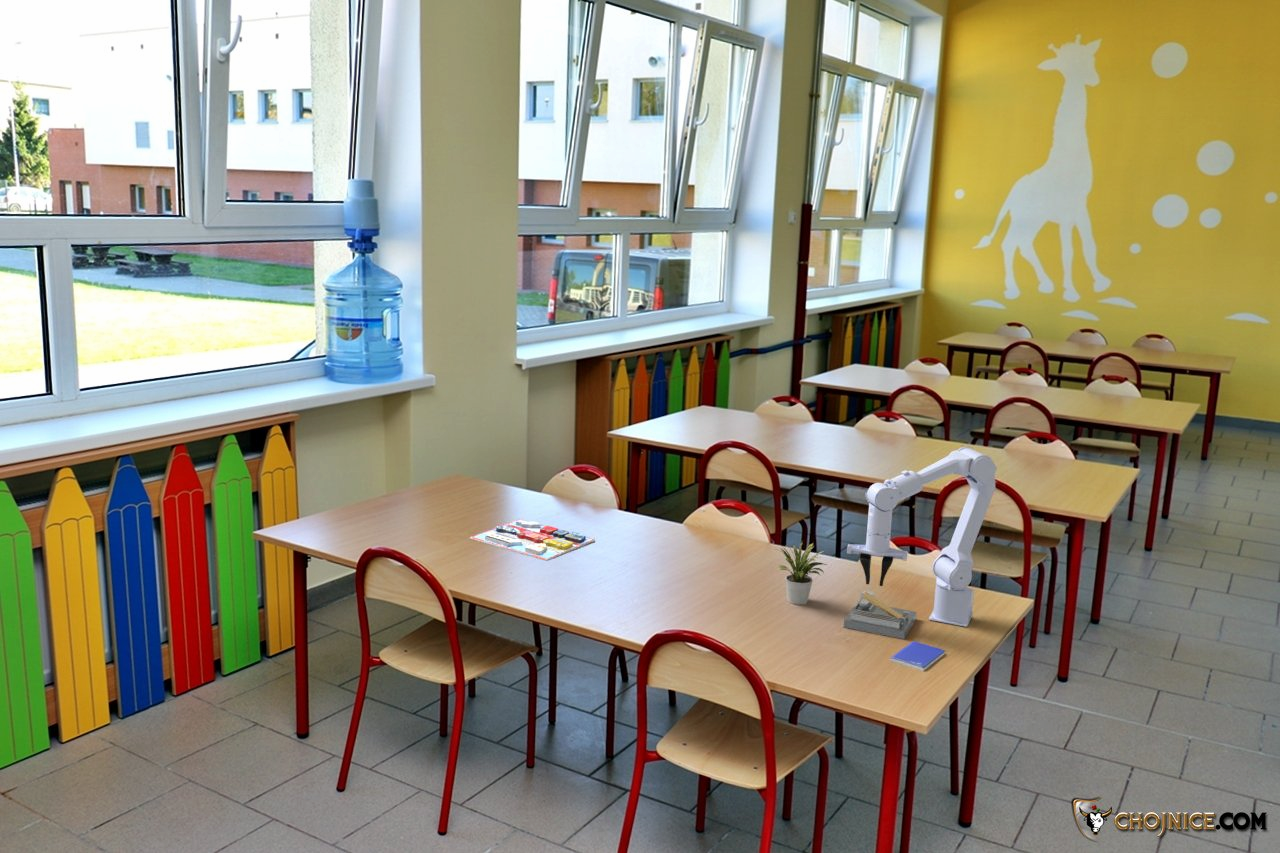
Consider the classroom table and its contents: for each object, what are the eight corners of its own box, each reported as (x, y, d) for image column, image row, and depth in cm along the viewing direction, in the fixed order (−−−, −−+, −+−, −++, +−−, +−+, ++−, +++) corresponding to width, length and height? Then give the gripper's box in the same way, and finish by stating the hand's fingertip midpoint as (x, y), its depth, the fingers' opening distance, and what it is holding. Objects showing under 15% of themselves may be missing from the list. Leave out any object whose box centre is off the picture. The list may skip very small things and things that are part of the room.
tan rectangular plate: (902, 618, 273) (904, 616, 273) (900, 622, 271) (901, 620, 270) (864, 593, 276) (865, 591, 276) (862, 597, 274) (863, 595, 274)
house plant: (778, 613, 279) (782, 553, 276) (758, 594, 292) (762, 536, 289) (830, 609, 283) (834, 549, 280) (808, 590, 296) (812, 533, 293)
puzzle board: (469, 541, 330) (469, 532, 330) (519, 523, 349) (519, 515, 348) (546, 563, 313) (547, 554, 313) (595, 543, 332) (595, 535, 331)
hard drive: (923, 666, 249) (945, 649, 258) (890, 656, 253) (912, 640, 263) (923, 673, 249) (944, 656, 258) (889, 662, 254) (912, 646, 263)
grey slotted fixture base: (916, 618, 279) (917, 604, 278) (903, 639, 266) (905, 624, 265) (858, 607, 285) (859, 593, 284) (843, 627, 272) (844, 612, 271)
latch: (873, 603, 283) (874, 592, 282) (868, 610, 278) (869, 598, 277) (862, 601, 284) (863, 590, 283) (857, 608, 279) (858, 596, 278)
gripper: (909, 530, 272) (905, 582, 275) (850, 523, 276) (847, 574, 279) (908, 539, 265) (903, 591, 268) (847, 531, 269) (843, 584, 272)
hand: (874, 583), depth 273 cm, fingers open, 3 cm apart
